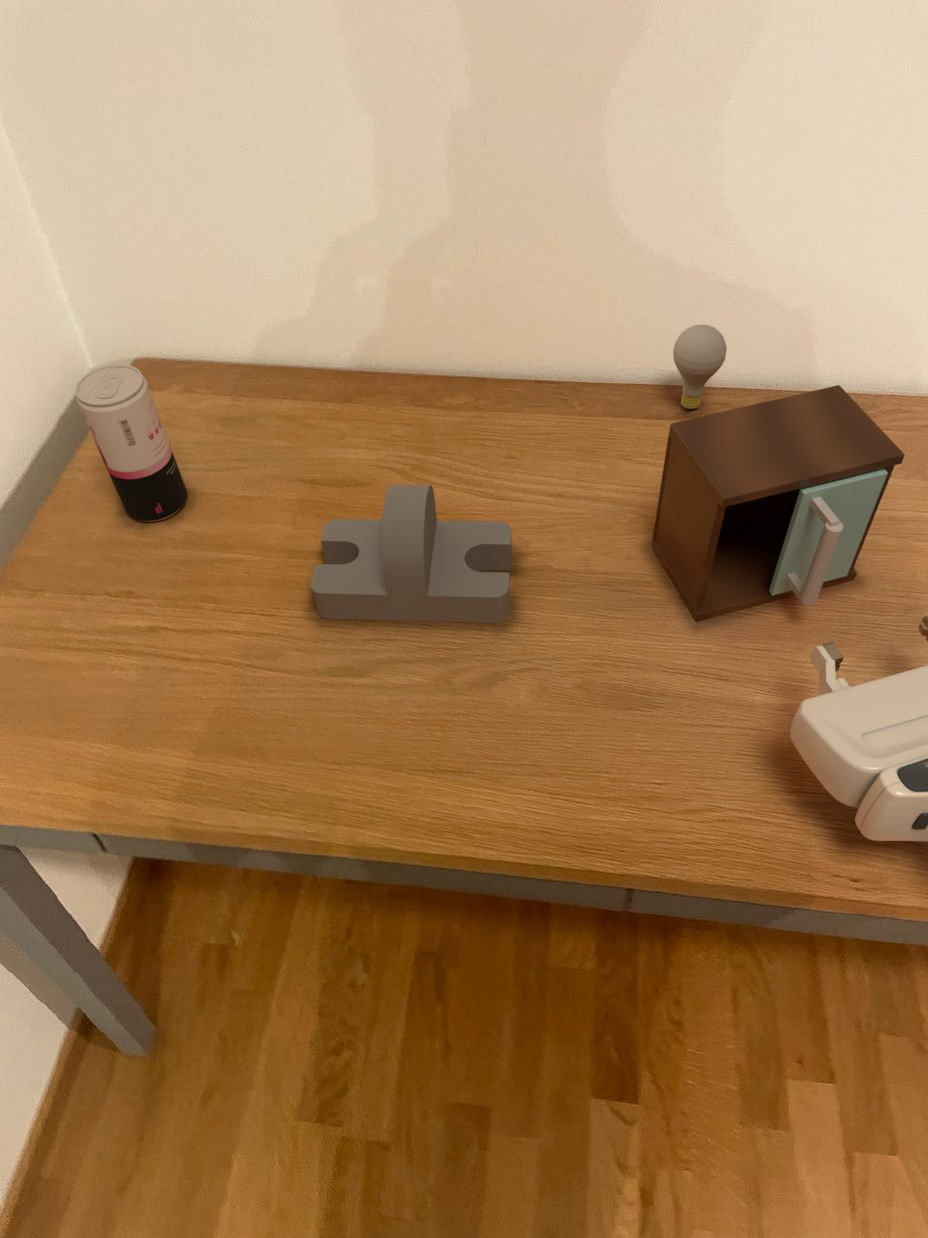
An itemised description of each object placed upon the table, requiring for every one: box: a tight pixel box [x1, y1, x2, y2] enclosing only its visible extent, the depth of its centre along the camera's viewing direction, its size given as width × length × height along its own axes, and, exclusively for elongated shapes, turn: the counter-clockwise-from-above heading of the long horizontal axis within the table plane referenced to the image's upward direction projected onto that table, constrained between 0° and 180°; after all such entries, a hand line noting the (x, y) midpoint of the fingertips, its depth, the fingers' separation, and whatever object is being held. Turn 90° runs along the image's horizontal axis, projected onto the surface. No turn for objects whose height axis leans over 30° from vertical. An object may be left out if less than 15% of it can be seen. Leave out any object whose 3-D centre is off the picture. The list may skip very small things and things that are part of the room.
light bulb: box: [672, 324, 728, 410], centre depth 100 cm, size 6×6×10 cm
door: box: [769, 469, 888, 607], centre depth 78 cm, size 8×4×12 cm, turn 106°
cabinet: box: [650, 384, 906, 622], centre depth 82 cm, size 16×10×15 cm, turn 106°
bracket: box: [309, 484, 513, 624], centre depth 84 cm, size 10×18×11 cm, turn 86°
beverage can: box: [74, 363, 188, 523], centre depth 92 cm, size 6×6×15 cm
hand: (875, 633), depth 72 cm, fingers open, 8 cm apart
